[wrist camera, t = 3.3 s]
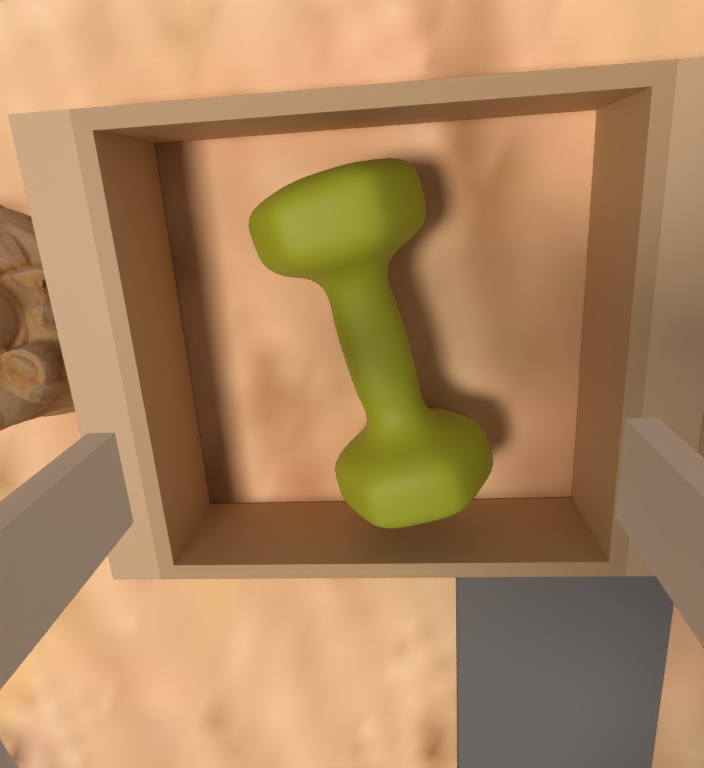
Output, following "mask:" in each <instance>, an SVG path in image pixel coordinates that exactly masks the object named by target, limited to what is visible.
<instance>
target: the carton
mask: <svg viewBox="0 0 704 768" xmlns="http://www.w3.org/2000/svg"><path fill="white" fill-rule="evenodd" d="M587 110H597V115H596V130H595V145H594V161H593V176H592V192H591V207H590V223H589V238H588V254H587V269H586V284H585V300H584V315H583V331H582V346H581V362H580V377H579V392H578V408H577V423H576V439H575V454H574V470H573V485H572V497H569V498H513V499H473V500H472V501H471V503H470V504H469V505H468V506H467V507H466V508H465V509H463V510H462V511H461V512H459V513H456V514H454V515H452V516H450V517H447V518H444V519H440V520H436V521H431V522H427V523H422V524H418V525H413V526H408V527H402V528H393V529H392V528H382V527H378V526H375V525H373V524H371V523H370V522H368V521H367V520H365V519H364V518H363V517H361V516H360V515H359V514H358V513H357V512H355V511H354V510H353V509H352V508H351V507H350V506H349V505H348V504H347V502H346V501H343V502H287V503H230V504H211V503H210V497H209V491H208V484H207V478H206V471H205V465H204V459H203V452H202V446H201V440H200V433H199V427H198V420H197V414H196V408H195V401H194V395H193V388H192V382H191V376H190V369H189V363H188V356H187V350H186V344H185V337H184V331H183V325H182V318H181V312H180V305H179V299H178V293H177V286H176V280H175V273H174V267H173V261H172V254H171V248H170V242H169V235H168V229H167V222H166V216H165V210H164V203H163V197H162V190H161V184H160V178H159V171H158V165H157V158H156V152H155V146H154V143H164V142H177V141H191V140H204V139H217V138H230V137H244V136H257V135H270V134H283V133H296V132H310V131H323V130H336V129H349V128H362V127H376V126H389V125H402V124H415V123H429V122H442V121H455V120H468V119H481V118H495V117H508V116H521V115H534V114H547V113H561V112H574V111H587ZM8 117H9V121H10V125H11V130H12V134H13V139H14V143H15V147H16V152H17V156H18V161H19V165H20V169H21V174H22V178H23V183H24V187H25V192H26V196H27V200H28V205H29V209H30V214H31V218H32V222H33V227H34V231H35V236H36V240H37V244H38V249H39V253H40V258H41V262H42V267H43V271H44V275H45V280H46V284H47V289H48V293H49V297H50V302H51V306H52V311H53V315H54V319H55V324H56V328H57V333H58V337H59V342H60V346H61V350H62V355H63V359H64V364H65V368H66V372H67V377H68V381H69V386H70V390H71V394H72V399H73V403H74V408H75V412H76V417H77V421H78V425H79V430H80V434H81V438H82V437H84V436H85V435H86V434H87V433H115V436H116V440H117V445H118V450H119V455H120V460H121V464H122V469H123V474H124V479H125V483H126V488H127V493H128V498H129V503H130V507H131V512H132V517H133V522H134V523H133V524H132V525H131V526H130V528H129V529H128V530H127V531H126V533H125V534H124V535H123V536H122V538H121V539H120V540H119V541H118V543H117V544H116V545H115V547H114V548H113V549H112V550H111V552H110V553H109V554H108V558H109V562H110V567H111V571H112V575H113V579H253V578H425V577H596V576H655V574H654V573H653V571H652V570H651V568H650V567H649V565H648V564H647V562H646V561H645V559H644V558H643V556H642V555H641V553H640V552H639V550H638V549H637V547H636V546H635V544H634V543H633V541H632V540H631V538H630V537H629V535H628V534H627V532H626V531H625V529H624V528H623V526H622V525H621V523H620V522H619V520H618V519H617V517H616V510H617V499H618V489H619V479H620V468H621V458H622V447H623V437H624V427H625V419H629V418H659V419H660V420H661V421H662V422H663V423H664V424H665V425H667V426H668V427H669V428H670V429H671V430H672V431H674V432H675V433H676V434H677V435H678V436H679V437H680V438H682V439H683V440H684V441H685V442H686V443H687V444H688V445H690V446H691V447H692V448H693V449H694V450H695V451H696V452H698V450H699V443H700V435H701V428H702V421H703V414H704V57H701V58H688V59H676V60H664V61H652V62H640V63H628V64H615V65H603V66H591V67H579V68H567V69H555V70H542V71H530V72H518V73H506V74H494V75H482V76H470V77H457V78H445V79H433V80H421V81H409V82H397V83H384V84H372V85H360V86H348V87H336V88H324V89H311V90H299V91H287V92H275V93H263V94H251V95H238V96H226V97H214V98H202V99H190V100H178V101H165V102H153V103H141V104H129V105H117V106H105V107H92V108H80V109H68V110H56V111H44V112H32V113H20V114H8Z"/></svg>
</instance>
